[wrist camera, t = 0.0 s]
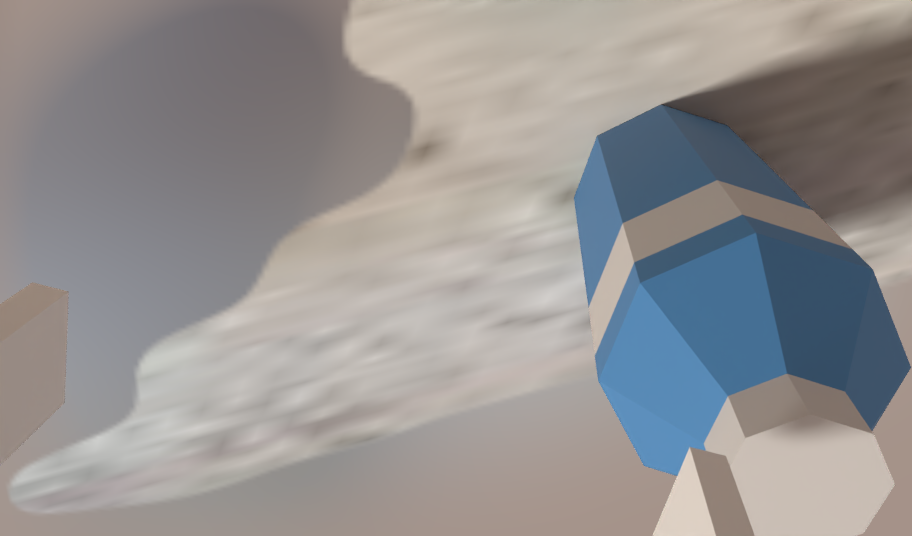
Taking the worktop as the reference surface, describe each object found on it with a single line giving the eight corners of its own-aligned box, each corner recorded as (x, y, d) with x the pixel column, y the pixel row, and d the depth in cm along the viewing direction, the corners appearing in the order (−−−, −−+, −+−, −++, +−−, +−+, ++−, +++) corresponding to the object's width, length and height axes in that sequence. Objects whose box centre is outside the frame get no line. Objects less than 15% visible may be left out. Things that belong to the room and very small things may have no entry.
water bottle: (749, 266, 44) (983, 629, 21) (578, 277, 45) (618, 630, 22) (755, 96, 40) (1042, 304, 17) (569, 112, 42) (606, 326, 19)
